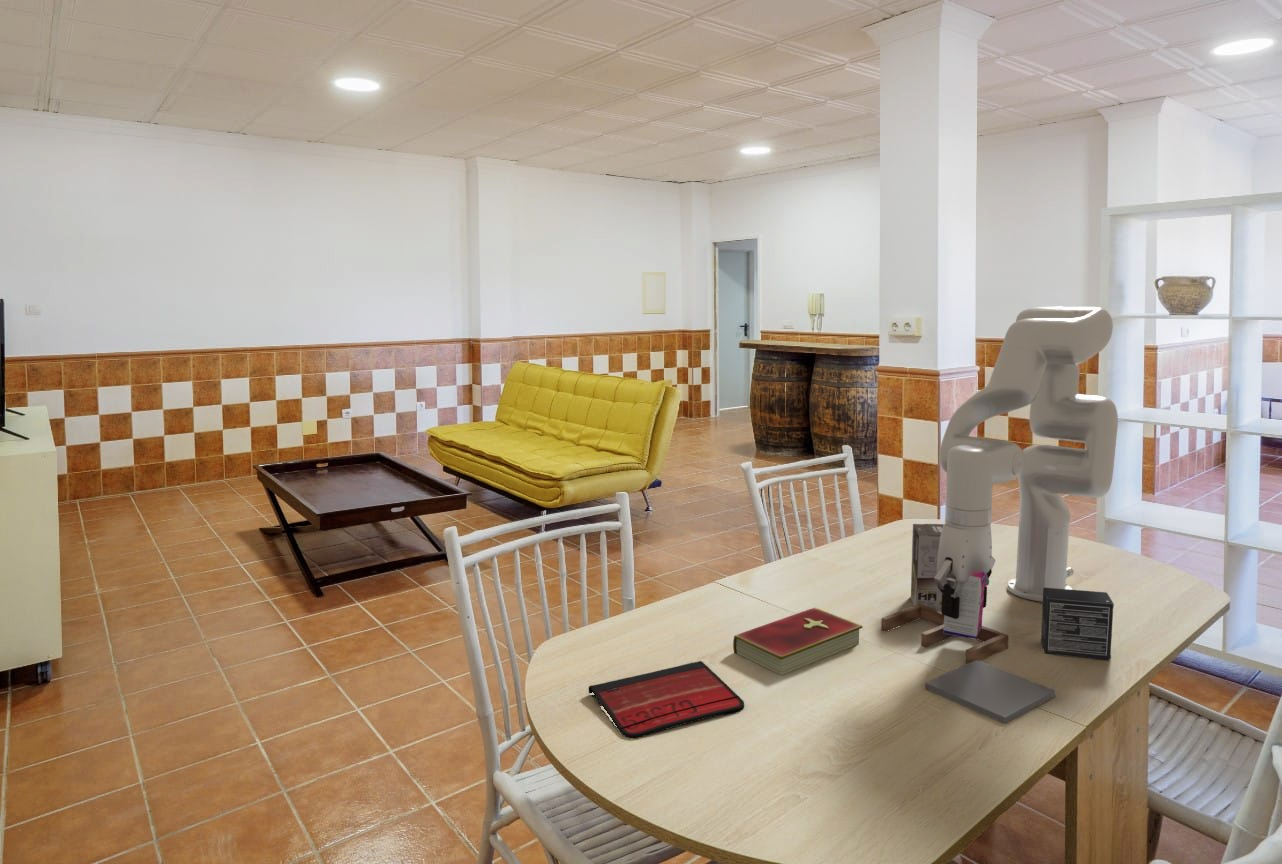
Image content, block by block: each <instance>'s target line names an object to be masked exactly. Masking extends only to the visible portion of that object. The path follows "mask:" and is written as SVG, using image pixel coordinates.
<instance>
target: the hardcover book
mask: <svg viewBox="0 0 1282 864" xmlns="http://www.w3.org/2000/svg"><path fill="white" fill-rule="evenodd" d="M861 629H863V625H862V624H859V623H856V622H854V621H851V620H848V619H846V618H843V617H841V616H838V615H836V614H833V613H830V612H828V611H825V610H822V609H820V608H818V607H811V608H809V609H806V610H804V611H800V612H797V613H794V614H792V615H789V616H786V617H783V618H781V619H778V620H774V621H771V622H768V623H766V624H764V625H761V626H758V627H755V628H752V629H749V630H746V631H743V632H741V633H737V634H735V635H734V636H733V643H732V647H733V654H735V653H736V654H738V655H740V656H741V657H744V658H746V659H747V660H750V661H752V662H754V663H756V664H758V665H759V666H762V667H764V668H766V669H768V670H770V671H772V672H774V673H776V674H777V675H780V676H783V675H784V674H787V673H790V672H791V671H794V670H797V669H799V668H802V667H805V666H806V665H809V664H812V663H814V662H817V661H819V660H821V659H824V658H826V657H829V656H831V655H834V654H837V653H839V652H842V651H844V650H846V649H849V648H851V646H852V647H853V646H856V645H859V644H860V630H861ZM858 643H859V644H858Z"/></svg>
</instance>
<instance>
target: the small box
mask: <svg viewBox="0 0 1282 864" xmlns="http://www.w3.org/2000/svg"><path fill="white" fill-rule="evenodd" d="M1041 606H1042V610H1041V611H1042V612H1041V628H1040V632H1041V633H1040V643H1042V644H1041V647H1042V650H1043V653H1044V654H1045V655H1055V656H1065V657H1066V656H1067V657H1073V658H1083V659H1094V660H1101V661H1111V660H1112V655H1111V654H1112V651H1111V650H1112V638H1113V621H1114V620H1113V618H1114V617H1113V616H1114V607H1115V604H1114V602H1113V600H1112V599H1111V597H1110V594H1108V592H1107V591H1094V590H1093V591H1091V590H1080V589H1078V590H1077V589H1073V590H1069V589H1056V588H1043V602H1042V605H1041Z"/></svg>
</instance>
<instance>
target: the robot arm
mask: <svg viewBox="0 0 1282 864" xmlns="http://www.w3.org/2000/svg"><path fill="white" fill-rule="evenodd" d="M1113 324H1114V323H1113V319H1112V316H1111V314H1110V313H1109V311H1108V310H1106V309H1105V308H1102V307H1096V306H1039V307H1030V308H1027V309H1024V310H1022V311H1020V312H1019V313H1018V314H1017V316H1016V319H1015V321H1014V322H1013V323H1012V324H1011V325H1009V327H1008V329H1007V331H1006V334H1005V336H1004V338H1003V342H1002V343H1001V348H1000V350H999V352H998V354H997V355H998V356H997V358H996V361H995V365H994V367H993V370H992V373H991V376H990V378H989V381H988V383H987V385H986V386H985V387H984V388H982V389H980V390H979V391H977V392H976V393H974V394H973V395H971V397H970V398H968V399H967V400H966V401H964V402H963V403H962V404H961V405H960V406H959V407H957V409H956V410H955V412H954V413H953V414H952V416H951V417H950V419H949V420H948V421H949V422H948V424H947V426H946V430H945V432H944V435H943V438H942V441H941V444H940V447H939V454H938V459H939V465H940V467H941V469H942V470H943V471H944V472H945V473H946V484H945V485H946V486H945V487H946V490H945V508H944V509H945V512H944V523H943V528H942V532H941V536H940V542H939V550H938V560H937V574H936V576H935V578H934V580H935V582H936V584H937V585H938V588H939V590H940V593H941V594H942V608H941V613H942V614H943V615H945V616H948V617H951V618H954V619H958V618H959V604H960V597H957V595H958V592H959V589H960V587H961V584H962V583H963V582H966V581H968V579H969V577H970V576H972V575H975V574H978V573H981V572H985V586H984V601H983V609H984V608H987V599H988V598H987V597H988V586H989V584H990V576H991V575H992V573H993V571H992V570H993V568H994V566H995V563H996V559H995V558H994V556H993V555H992V554H993V545H992V544H993V543H992V542H993V538H992V529H991V528H992V527H991V524H992V505H993V504H992V503H993V502H992V501H993V484H1003V483H1009V482H1012V481H1014V480H1015V479H1017V478H1018V479H1017V480H1018V481H1017V482H1018V487H1019V515H1018V516H1019V517H1018V518H1019V519H1018V531H1017V534H1018V535H1017V549H1016V551H1017V553H1016V566H1015V568H1016V569H1015V571H1016V572H1015V578H1012V579H1010V580H1008V581H1007V590H1008V591H1009V592H1010V593H1011V594H1013V595H1015V596H1017V597H1020V598H1023V599H1026V600H1029V601H1035V602H1042V603H1043V588H1056V589H1069V590H1074V589H1073V588H1072V586H1070V585H1068V584H1066V583H1067V579H1068V578H1069V577H1072V576H1073V575H1074V574H1075V571H1074V569H1073V568H1071V567H1070V566H1068V555H1069V538H1070V524H1071V523H1070V522H1071V514H1070V510H1069V507H1068V505H1067V503H1066V501H1065V499H1064V498H1063V496H1062V495H1069V496H1074V497H1076V496H1077V497H1082V498H1090V499H1091V498H1092V499H1099V498H1102V497H1104V496H1106V495H1107V494H1108V492H1109V490H1110V489H1111V485H1112V482H1113V475H1114V467H1115V457H1116V445H1117V435H1118V426H1119V425H1118V423H1119V421H1118V420H1119V419H1118V418H1119V415H1118V410H1117V407H1116V404H1115V403H1114V401H1112V400H1111V399H1110V398H1108V397H1106V396H1101V395H1094V394H1093V395H1092V394H1091V395H1090V394H1082V393H1081V394H1080V392H1079V386H1080V385H1079V384H1080V373H1081V372H1080V367H1079V365H1081V364H1083V363H1086V362H1088V360H1090V359H1092V358H1093V357H1095V356H1096V355H1098V353H1099V354H1100V352H1101V351H1103V350H1104V349H1105V347H1106V346H1107V345H1108V344H1109V342H1110V339H1111V337H1112V334H1113V328H1114V326H1113ZM1028 405H1030V406H1029V407H1030V408H1029V409H1030V410H1029V427H1030V430H1031V432H1032V433H1033V434H1034V435H1035V436H1037V437H1039V438H1044V439H1051V440H1059V441H1066V442H1067V441H1068V442H1078V443H1083V444H1084V445H1085V448H1086V449H1085V448H1075V447H1068V446H1060V445H1052V444H1051V445H1049V444H1034V445H1030V446H1027V447H1025V448H1023V449H1022V448H1021V446H1019V445H1018V444H1017V443H1015V442H1013V441H1008V440H1003V439H1002V440H1001V439H994V438H988V437H987V438H986V437H977V436H971V434H972V432H973V430H974V429H976V427H977V426H979V425H980V424H981V423H983V422H985V421H988V420H989V419H991V418H994V417H997V416H1000V415H1003V414H1006V413H1010V412H1013V411H1015V410H1020V409H1022V408H1025V407H1027V406H1028ZM949 573H951V574H954V575H955V576H956V579H954V578H951V577H949ZM949 581H950V582H953V583H955V584H954V587H953V589H952V588H951V586H950V585H949Z"/></svg>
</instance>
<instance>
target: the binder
mask: <svg viewBox="0 0 1282 864" xmlns="http://www.w3.org/2000/svg"><path fill="white" fill-rule="evenodd" d="M592 692H593V693H594V694H595V695H594V696H595V697H596V698H597V701H598V702H599V703H600V706H603V707H604V709H605V710H606V711H607V713H608V714H609V715H610V717H611V718H612V720H613V722H614V723H615V725H616V726H617V728H618V729H619V730H620V731H619V730H618V729H617V728H616V729H617V730H618V731H619V733H620V732H621V733H620V734H622V736H624V737H625V736H626V737H625V738H627V737H629V738H628V739H631V738H634V739H640V738H639V737H641V738H643V736H644V737H646V736H649V735H653V734H654V732H655V733H658V732H661V731H663V729H665V730H667V729H666V728H669V729H671V727H672V728H675V727H677V726H676V725H679V726H681V725H680V724H683V725H685V724H684V723H686V724H689V723H692V722H691V721H693V722H696V721H695V720H697V721H699V720H698V719H700V720H703V719H702V718H704V719H707V718H706V717H708V718H711V717H710V716H712V717H715V715H716V716H726V715H731V714H737V713H739V712H742V711H743V710H744V709H745V701H744V700H743V699H742V698H741V696H740V695H739V694H737V693H736V692H735V691H734V690H733V689H731V687H730V686H728V684H726V682H725V681H724V680H722V678H720V676H718V675H717V674H716V673H715V672H714V671H713V670H712V669H710V667H708V665H707V664H705V663H704V661H701V660H699V661H695V662H690V663H687V664H686V663H685V664H681V665H678V666H674V667H668V668H662V669H660V670H655V671H652V672H648V673H642V674H637V675H634V676H629V677H624V678H620V679H614V680H611V681H606V682H601V683H598V684H591V685H589V686H588V694H589V693H592ZM741 710H742V711H741ZM736 712H737V713H736ZM688 722H689V723H688ZM674 726H675V727H674ZM652 733H653V734H652Z"/></svg>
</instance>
